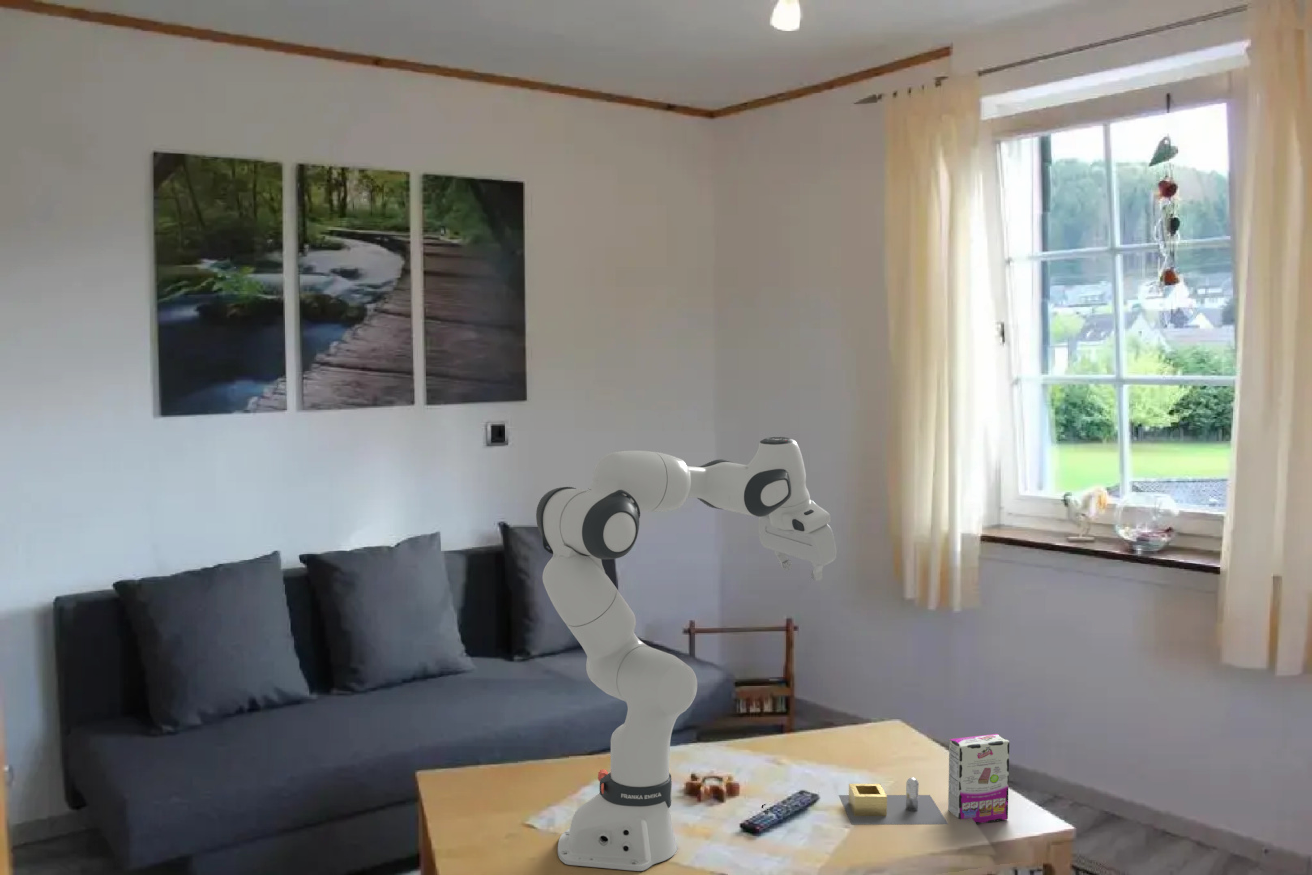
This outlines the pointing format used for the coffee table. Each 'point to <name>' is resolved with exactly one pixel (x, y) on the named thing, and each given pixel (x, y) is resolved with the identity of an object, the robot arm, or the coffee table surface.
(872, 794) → the brass collar
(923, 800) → the slate mat
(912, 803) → the steel post
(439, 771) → the coffee table surface
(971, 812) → the candy bar box
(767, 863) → the coffee table surface
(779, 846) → the coffee table surface
